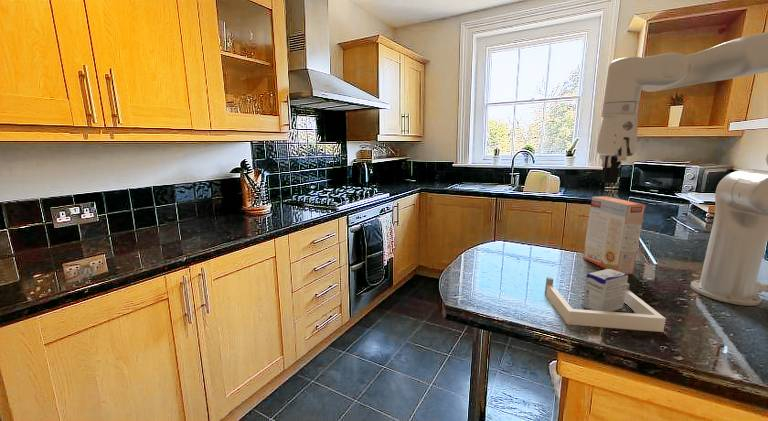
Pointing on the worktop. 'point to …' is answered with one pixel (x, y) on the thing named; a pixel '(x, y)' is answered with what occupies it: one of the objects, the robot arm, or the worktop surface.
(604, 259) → the cracker box
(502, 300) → the worktop surface
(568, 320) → the dock
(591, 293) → the box
